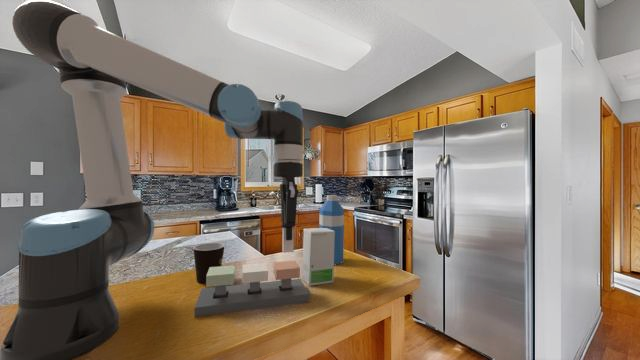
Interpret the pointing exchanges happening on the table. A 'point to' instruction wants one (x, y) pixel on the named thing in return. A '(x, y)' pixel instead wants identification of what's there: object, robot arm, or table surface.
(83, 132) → the robot arm
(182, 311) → the table surface
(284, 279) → the key right
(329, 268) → the skincare box
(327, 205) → the water bottle
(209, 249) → the coffee mug
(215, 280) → the key left
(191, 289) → the table surface
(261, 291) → the keypad base
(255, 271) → the key mid
